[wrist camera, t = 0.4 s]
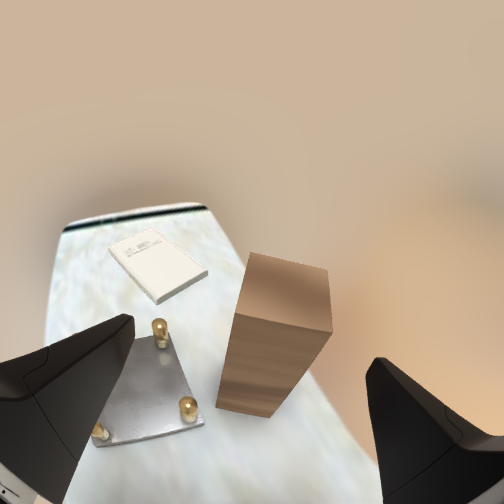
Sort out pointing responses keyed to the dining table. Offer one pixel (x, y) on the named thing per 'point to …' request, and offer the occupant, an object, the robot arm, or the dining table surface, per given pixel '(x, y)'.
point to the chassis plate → (148, 395)
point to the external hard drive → (157, 264)
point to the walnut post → (274, 334)
